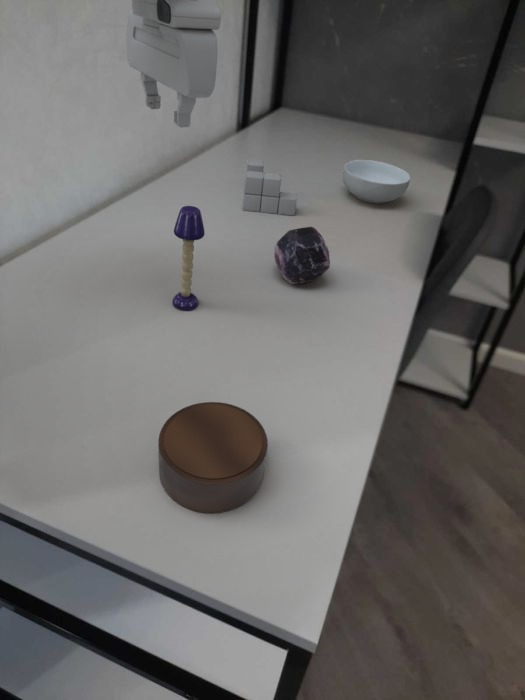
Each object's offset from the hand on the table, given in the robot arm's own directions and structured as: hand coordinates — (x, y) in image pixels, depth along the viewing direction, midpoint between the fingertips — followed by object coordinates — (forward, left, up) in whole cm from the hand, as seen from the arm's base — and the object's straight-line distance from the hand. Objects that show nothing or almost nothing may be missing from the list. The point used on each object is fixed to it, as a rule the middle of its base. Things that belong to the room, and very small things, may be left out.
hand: (167, 116), depth 75 cm
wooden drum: (-24, -34, -28) cm, 50 cm away
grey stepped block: (+43, +12, -28) cm, 52 cm away
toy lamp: (-2, -7, -28) cm, 29 cm away
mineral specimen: (+20, -14, -28) cm, 37 cm away
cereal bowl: (+68, -2, -28) cm, 73 cm away
